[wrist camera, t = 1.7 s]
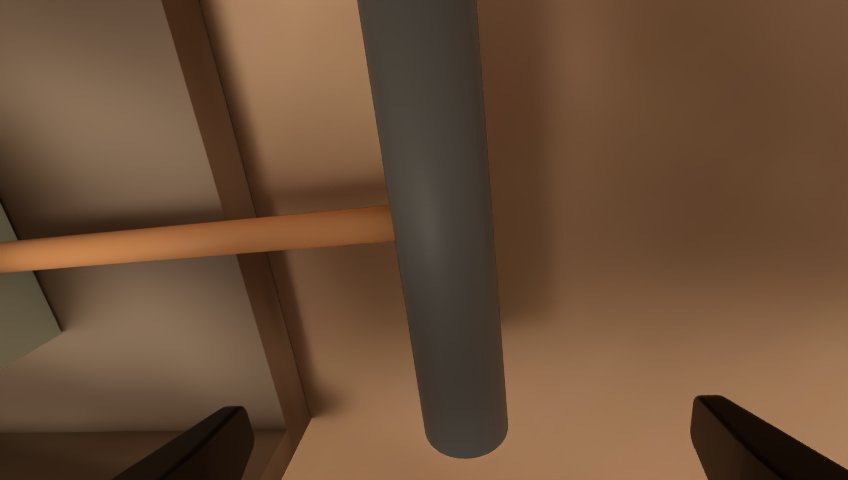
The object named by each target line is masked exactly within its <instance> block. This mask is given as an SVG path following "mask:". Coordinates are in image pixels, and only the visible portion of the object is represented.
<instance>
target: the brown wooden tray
mask: <svg viewBox="0 0 848 480" xmlns="http://www.w3.org/2000/svg"><path fill="white" fill-rule="evenodd" d="M0 203H1V205H2V208H3V210H4V212H5V214H6V216H7V218H8V220H9V222H10V225H11V227H12V229H13V231H14V233H15V235H16V237H17V239H18V240H28V239H39V238H49V237H60V236H70V235H81V234H92V233H102V232H113V231H123V230H134V229H145V228H155V227H166V226H176V225H187V224H198V223H208V222H219V221H229V220H240V219H251V218H257V217H256V213H255V209H254V205H253V202H252V198H251V194H250V190H249V187H248V183H247V179H246V175H245V172H244V168H243V164H242V160H241V157H240V153H239V149H238V146H237V142H236V138H235V134H234V131H233V127H232V123H231V119H230V116H229V112H228V108H227V104H226V101H225V97H224V93H223V90H222V86H221V82H220V78H219V75H218V71H217V67H216V63H215V60H214V56H213V52H212V48H211V45H210V41H209V37H208V33H207V30H206V26H205V22H204V19H203V15H202V11H201V7H200V4H199V0H0ZM32 271H33V273H34V275H35V278H36V280H37V282H38V284H39V286H40V288H41V290H42V292H43V294H44V297H45V299H46V301H47V303H48V305H49V307H50V309H51V311H52V314H53V316H54V318H55V320H56V322H57V324H58V326H59V328H60V331H61V333H62V334H60V335H59V336H57V337H55V338H54V339H52V340H50V341H48V342H47V343H45V344H43V345H42V346H40V347H38V348H37V349H35V350H33V351H32V352H30V353H28V354H27V355H25V356H23V357H22V358H20V359H18V360H17V361H15V362H13V363H12V364H10V365H8V366H6V367H5V368H3V369H1V370H0V480H110V479H112V478H113V477H115V476H116V475H118V474H119V473H121V472H122V471H124V470H126V469H127V468H129V467H130V466H132V465H133V464H135V463H137V462H138V461H140V460H141V459H143V458H144V457H146V456H147V455H149V454H151V453H152V452H154V451H155V450H157V449H158V448H160V447H161V446H163V445H165V444H166V443H168V442H169V441H171V440H172V439H174V438H175V437H177V436H179V435H180V434H182V433H183V432H185V431H186V430H188V429H189V428H191V427H193V426H194V425H196V424H197V423H199V422H200V421H202V420H203V419H205V418H207V417H208V416H210V415H211V414H213V413H214V412H216V411H218V410H219V409H221V408H222V407H225V406H243V407H244V408H245V409H246V411H247V413H248V416H249V419H250V422H251V426H252V429H253V432H254V435H255V443H254V447H253V450H252V453H251V456H250V458H249V461H248V464H247V467H246V469H245V472H244V475H243V477H242V480H281V479H282V477H283V475H284V473H285V471H286V469H287V467H288V465H289V463H290V461H291V459H292V457H293V455H294V453H295V451H296V449H297V447H298V445H299V443H300V441H301V439H302V437H303V435H304V432H305V430H306V428H307V426H308V424H309V422H310V420H311V418H310V415H309V411H308V407H307V403H306V400H305V396H304V392H303V388H302V385H301V381H300V377H299V373H298V370H297V366H296V362H295V358H294V355H293V351H292V347H291V344H290V340H289V336H288V332H287V329H286V325H285V321H284V317H283V314H282V310H281V306H280V302H279V299H278V295H277V291H276V288H275V284H274V280H273V276H272V273H271V269H270V265H269V261H268V258H267V254H266V252H254V253H241V254H229V255H217V256H204V257H192V258H180V259H167V260H155V261H143V262H130V263H118V264H106V265H93V266H81V267H69V268H56V269H44V270H32Z"/></svg>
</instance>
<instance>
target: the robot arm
mask: <svg viewBox="0 0 848 480" xmlns="http://www.w3.org/2000/svg"><path fill="white" fill-rule="evenodd" d="M690 433H691V439H692V443H693V445H694V448H695V450H696V452H697V455H698V457H699V460H700V462H701V464H702V467H703V469H704V471H705V474H706V476H707V478H708V480H848V470H847V469H845V468H844V467H842V466H840V465H839V464H837V463H835V462H834V461H832V460H830V459H829V458H827V457H825V456H823V455H822V454H820V453H818V452H817V451H815V450H813V449H812V448H810V447H808V446H806V445H805V444H803V443H801V442H800V441H798V440H796V439H795V438H793V437H791V436H790V435H788V434H786V433H784V432H783V431H781V430H779V429H778V428H776V427H774V426H773V425H771V424H769V423H767V422H766V421H764V420H762V419H761V418H759V417H757V416H756V415H754V414H752V413H750V412H749V411H747V410H745V409H744V408H742V407H740V406H739V405H737V404H735V403H734V402H732V401H730V400H728V399H727V398H725V397H723V396H720V395H699V396H696V397H695V399H694V402H693V409H692V419H691V428H690ZM254 443H255V435H254V432H253V429H252V426H251V422H250V419H249V416H248V413H247V411H246V409H245V408H244V407H243V406H225V407H222V408H221V409H219V410H218V411H216V412H214V413H213V414H211V415H210V416H208V417H207V418H205V419H203V420H202V421H200V422H199V423H197V424H196V425H194V426H193V427H191V428H189V429H188V430H186V431H185V432H183V433H182V434H180V435H179V436H177V437H175V438H174V439H172V440H171V441H169V442H168V443H166V444H165V445H163V446H161V447H160V448H158V449H157V450H155V451H154V452H152V453H151V454H149V455H147V456H146V457H144V458H143V459H141V460H140V461H138V462H137V463H135V464H133V465H132V466H130V467H129V468H127V469H126V470H124V471H122V472H121V473H119V474H118V475H116V476H115V477H113V478H112V479H110V480H242V477H243V475H244V472H245V469H246V467H247V464H248V461H249V458H250V456H251V453H252V450H253V447H254Z"/></svg>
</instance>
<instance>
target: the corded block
mask: <svg viewBox="0 0 848 480" xmlns="http://www.w3.org/2000/svg"><path fill="white" fill-rule="evenodd" d="M357 2H358V9H359V15H360V21H361V28H362V34H363V40H364V47H365V53H366V59H367V66H368V72H369V78H370V85H371V91H372V97H373V104H374V110H375V117H376V123H377V129H378V136H379V142H380V148H381V155H382V161H383V167H384V174H385V180H386V186H387V193H388V199H389V205H388V206H378V207H367V208H357V209H346V210H335V211H325V212H314V213H304V214H293V215H282V216H272V217H261V218H251V219H240V220H229V221H219V222H208V223H198V224H187V225H176V226H166V227H155V228H145V229H134V230H123V231H113V232H102V233H92V234H81V235H70V236H60V237H49V238H39V239H28V240H18V239H17V237H16V235H15V233H14V231H13V229H12V227H11V225H10V222H9V220H8V218H7V216H6V214H5V212H4V210H3V208H2V205H1V203H0V370H1V369H3V368H5V367H6V366H8V365H10V364H12V363H13V362H15V361H17V360H18V359H20V358H22V357H23V356H25V355H27V354H28V353H30V352H32V351H33V350H35V349H37V348H38V347H40V346H42V345H43V344H45V343H47V342H48V341H50V340H52V339H54V338H55V337H57V336H59V335H60V334H62V333H61V331H60V328H59V326H58V324H57V322H56V320H55V318H54V316H53V314H52V311H51V309H50V307H49V305H48V303H47V301H46V299H45V297H44V294H43V292H42V290H41V288H40V286H39V284H38V282H37V280H36V278H35V275H34V273H33V271H32V270H44V269H56V268H69V267H81V266H93V265H106V264H118V263H130V262H143V261H155V260H167V259H180V258H192V257H204V256H217V255H229V254H241V253H254V252H266V251H278V250H291V249H303V248H315V247H328V246H340V245H352V244H365V243H377V242H389V241H395V244H396V250H397V256H398V263H399V269H400V275H401V282H402V288H403V294H404V301H405V307H406V313H407V320H408V326H409V332H410V339H411V345H412V351H413V358H414V364H415V370H416V377H417V383H418V390H419V396H420V402H421V409H422V415H423V421H424V428H425V434H426V437H427V439H428V441H429V442H430V444H431V445H432V446H433V447H434V448H435V449H436V450H438V451H439V452H441V453H443V454H445V455H447V456H450V457H454V458H463V459H467V458H476V457H480V456H483V455H485V454H488V453H490V452H491V451H493V450H494V449H496V448H497V447H498V446H499V445H500V444H501V443H502V442H503V440H504V439H505V437H506V434H507V431H508V418H507V404H506V391H505V378H504V364H503V351H502V338H501V324H500V311H499V297H498V284H497V271H496V257H495V244H494V231H493V217H492V204H491V190H490V177H489V164H488V150H487V137H486V123H485V110H484V97H483V83H482V70H481V57H480V43H479V30H478V16H477V3H476V0H357Z"/></svg>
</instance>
